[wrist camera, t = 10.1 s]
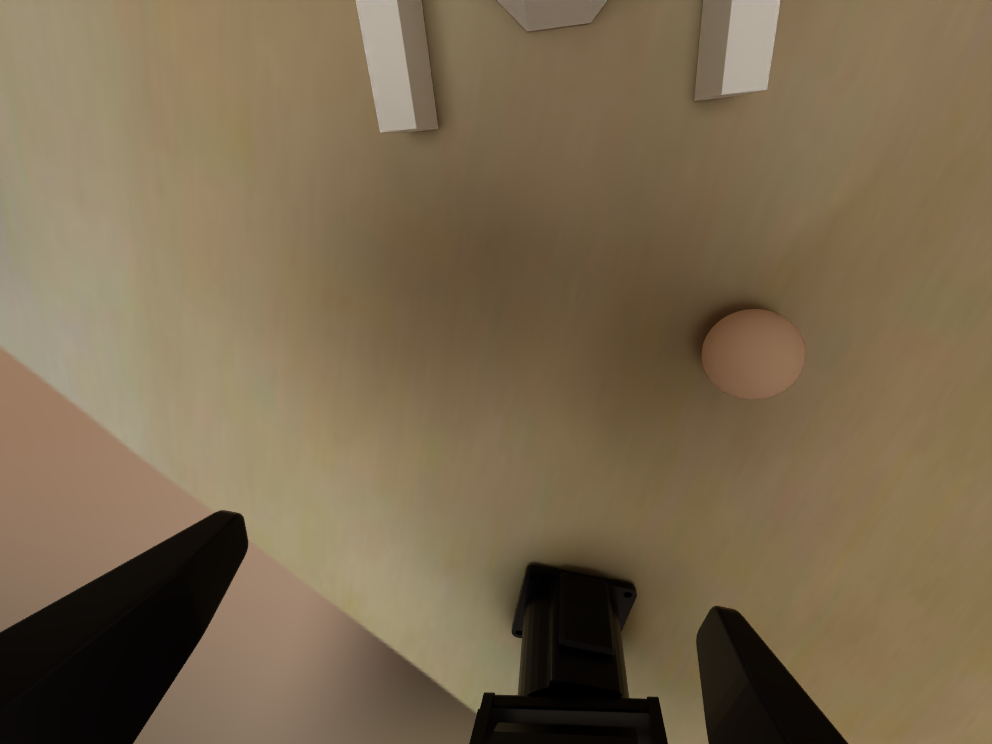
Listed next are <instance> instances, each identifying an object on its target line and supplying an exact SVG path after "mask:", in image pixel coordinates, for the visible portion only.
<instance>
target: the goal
mask: <svg viewBox="0 0 992 744" xmlns="http://www.w3.org/2000/svg"><path fill="white" fill-rule="evenodd" d="M356 5H357V10H358V16H359V21H360V27H361V32H362V37H363V43H364V48H365V54H366V59H367V64H368V70H369V75H370V81H371V86H372V92H373V97H374V102H375V108H376V113H377V119H378V124H379V130H380V133H383V132H417V131H426V130H435V129H439V128H438V121H437V113H436V106H435V98H434V91H433V83H432V76H431V68H430V60H429V53H428V45H427V38H426V30H425V23H424V15H423V8H422V0H356ZM779 7H780V0H703V6H702V17H701V29H700V40H699V51H698V62H697V73H696V84H695V95H694V101H699V100H708V99H718V98H727V97H734V96H739V95H744V94H748V93H753V92H758V91H763V90H767V86H768V80H769V73H770V66H771V60H772V53H773V47H774V40H775V33H776V27H777V20H778V13H779Z"/></svg>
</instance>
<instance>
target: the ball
mask: <svg viewBox="0 0 992 744" xmlns="http://www.w3.org/2000/svg"><path fill="white" fill-rule="evenodd" d="M805 356H806V349H805V344H804V340H803V338H802V336H801V334H800V332H799V331H798V329H797V328H796V327H795V326H794V325H793V324H792V323H791V322H790V321H789V320H788V319H786V318H785V317H783V316H781V315H779V314H777V313H775V312H772V311H768V310H762V309H747V310H741V311H738V312H735V313H732V314H730V315H728V316H726V317H724V318H723V319H721V320H720V321H719V322H717V323H716V324H715V325H714V326H713V327H712V329H711V330H710V331H709V333H708V334H707V336H706V338H705V340H704V343H703V348H702V363H703V367H704V370H705V372H706V374H707V376H708V377H709V379H710V380H711V381H712V383H713V384H714V385H715V386H716V387H718V388H719V389H720V390H722V391H723V392H725V393H727V394H729V395H731V396H734V397H737V398H741V399H748V400H757V399H764V398H769V397H772V396H775V395H777V394H779V393H781V392H783V391H784V390H786V389H787V388H788V387H790V386H791V385H792V384H793V383H794V382H795V381H796V379H797V378H798V376H799V375H800V373H801V371H802V369H803V367H804V363H805Z"/></svg>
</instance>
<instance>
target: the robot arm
mask: <svg viewBox="0 0 992 744" xmlns="http://www.w3.org/2000/svg"><path fill="white" fill-rule="evenodd" d="M247 549H248V538H247V532H246V527H245V521H244V517H243V516H242V515H241V514H240V513H236V512H231V511H225V510H221V511H218V512H215V513H213V514H212V515H210V516H208V517H206V518H204V519H203V520H201V521H199V522H197V523H196V524H194V525H192V526H190V527H189V528H186V529H185V530H183V531H181V532H179V533H178V534H176V535H174V536H172V537H170V538H169V539H167V540H165V541H163V542H161V543H160V544H158V545H156V546H154V547H152V548H151V549H149V550H147V551H146V552H144V553H142V554H140V555H138V556H136V557H134V558H133V559H131V560H129V561H127V562H126V563H124V564H122V565H121V566H118V567H117V568H115V569H113V570H111V571H109V572H108V573H106V574H104V575H102V576H100V577H99V578H97V579H95V580H93V581H92V582H90V583H88V584H86V585H85V586H82V587H81V588H79V589H77V590H75V591H74V592H72V593H70V594H68V595H66V596H65V597H63V598H61V599H59V600H58V601H56V602H54V603H52V604H50V605H48V606H47V607H45V608H43V609H41V610H40V611H38V612H36V613H34V614H33V615H30V616H29V617H27V618H25V619H23V620H22V621H20V622H18V623H16V624H14V625H12V626H11V627H9V628H7V629H5V630H4V631H2V632H0V744H133V743H134V741H135V740H136V738H137V736H138V735H139V733H140V732H141V730H142V729H143V727H144V726H145V724H146V723H147V721H148V720H149V718H150V717H151V715H152V713H153V712H154V710H155V709H156V707H157V706H158V704H159V703H160V701H161V700H162V698H163V697H164V695H165V693H166V692H167V690H168V689H169V687H170V686H171V684H172V683H173V681H174V680H175V678H176V676H177V675H178V673H179V672H180V670H181V669H182V667H183V666H184V664H185V663H186V661H187V659H188V658H189V656H190V655H191V653H192V652H193V650H194V649H195V647H196V646H197V644H198V642H199V641H200V639H201V638H202V636H203V634H204V633H205V631H206V629H207V627H208V625H209V624H210V621H211V620H212V618H213V616H214V614H215V612H216V610H217V608H218V607H219V605H220V603H221V601H222V599H223V597H224V595H225V593H226V591H227V589H228V587H229V586H230V583H231V581H232V580H233V578H234V576H235V574H236V572H237V570H238V568H239V566H240V564H241V563H242V560H243V559H244V557H245V555H246V552H247ZM636 597H637V593H636V588H635V586H634V585H633V584H630V583H625V582H620V581H615V580H610V579H605V578H600V577H595V576H589V575H584V574H579V573H574V572H569V571H564V570H559V569H553V568H548V567H543V566H538V565H530V566H528V567H527V568H526V571H525V575H524V579H523V583H522V587H521V591H520V595H519V600H518V604H517V608H516V612H515V616H514V620H513V624H512V634H513V635H514V636H515V637H518V638H522V646H521V660H520V673H519V687H518V695H495V693H486V692H485V693H484V695H483V699H482V703H481V707H480V709H478V712H477V716H476V720H475V724H474V728H473V732H472V736H471V739H470V743H469V744H668V742H667V737H666V732H665V727H664V723H663V718H662V713H661V708H660V703H659V698H658V697H647V699H634V698H629V693H628V685H627V677H626V669H625V661H624V653H623V644H622V636H621V631H622V629H623V626H624V624H625V622H626V620H627V617H628V615H629V613H630V610H631V608H632V606H633V603H634V601H635V599H636ZM696 644H697V653H698V662H699V670H700V679H701V687H702V696H703V704H704V712H705V721H706V728H707V735H708V741H709V744H848V743H847V741H846V740H845V739H844V738H843V737H842V735H841V734H840V733H839V732H838V731H837V729H836V728H835V727H834V726H833V725H832V723H831V722H830V721H829V720H828V718H827V717H826V716H825V715H824V714H823V712H822V711H821V710H820V709H819V708H818V706H817V705H816V704H815V703H814V702H813V700H812V699H811V698H810V697H809V696H808V694H807V693H806V692H805V691H804V689H803V688H802V687H801V686H800V685H799V683H798V682H797V681H796V680H795V679H794V677H793V676H792V675H791V674H790V673H789V671H788V670H787V669H786V668H785V667H784V665H783V664H782V663H781V662H780V661H779V659H778V658H777V657H776V656H775V654H774V653H773V652H772V651H771V650H770V648H769V647H768V646H767V645H766V644H765V642H764V641H763V640H762V639H761V638H760V636H759V635H758V634H757V633H756V632H755V630H754V629H753V628H752V627H751V625H750V624H749V623H748V622H747V621H746V619H745V618H744V617H743V616H742V615H741V614H740V613H739V612H738V611H736V610H734V609H731V608H726V607H720V606H714V607H712V608H711V609H710V611H709V613H708V614H707V616H706V618H705V620H704V621H703V623H702V625H701V627H700V628H699V630H698V633H697V639H696Z"/></svg>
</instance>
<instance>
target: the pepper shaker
mask: <svg viewBox="0 0 992 744" xmlns="http://www.w3.org/2000/svg"><path fill="white" fill-rule="evenodd" d="M497 1H498V2H499V3H500V4H501V5H502V6H503V7H504V9H505V10H506V11H507V12H508V13H509V14H510V15H511V16H512V17H513V18H514V19H515V20H516V21H517V22H518V23H519V24H520V25H521V26H522V27H523V28H524V29H525V30H526V31H527V32H529V31H536V30H543V29H550V28H558V27H565V26H572V25H580V24H587V23H591V22H592V21H593V19H594V18H595V17H596V15H597V14H598V13H599V11H600V10H601V9H602V7H603V6H604V5H605V3H606V2H607V1H608V0H497Z"/></svg>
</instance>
